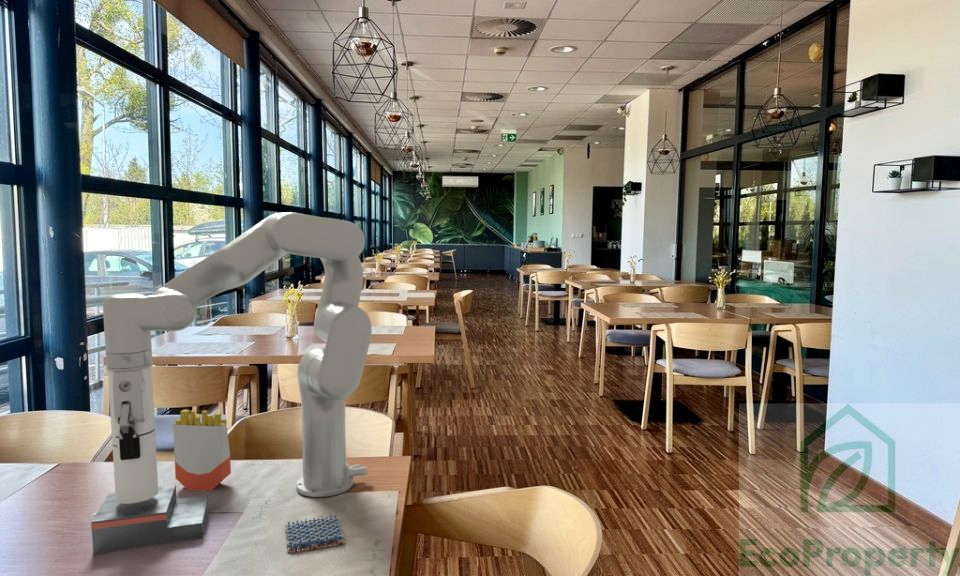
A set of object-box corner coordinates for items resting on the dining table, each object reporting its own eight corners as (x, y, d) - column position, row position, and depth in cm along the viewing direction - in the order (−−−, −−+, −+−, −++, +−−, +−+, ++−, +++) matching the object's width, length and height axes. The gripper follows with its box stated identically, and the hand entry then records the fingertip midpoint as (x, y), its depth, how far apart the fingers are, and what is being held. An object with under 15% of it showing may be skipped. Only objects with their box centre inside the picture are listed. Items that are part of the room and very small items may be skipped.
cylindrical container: (139, 505, 114) (132, 372, 112) (106, 501, 115) (98, 370, 113) (166, 489, 121) (160, 363, 119) (135, 486, 122) (127, 362, 120)
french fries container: (187, 481, 143) (183, 405, 141) (232, 482, 142) (229, 406, 140) (175, 489, 139) (172, 410, 137) (222, 491, 138) (218, 412, 136)
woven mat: (338, 522, 124) (338, 512, 124) (345, 547, 114) (345, 537, 114) (284, 530, 121) (284, 520, 120) (286, 557, 111) (286, 546, 110)
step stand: (208, 508, 129) (207, 481, 128) (202, 538, 116) (201, 508, 116) (110, 521, 123) (108, 492, 122) (92, 554, 110) (90, 522, 110)
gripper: (143, 368, 109) (148, 465, 110) (159, 350, 125) (164, 435, 127) (94, 371, 106) (100, 471, 108) (117, 352, 123) (122, 439, 124)
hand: (134, 450), depth 117 cm, fingers closed on cylindrical container, 7 cm apart
